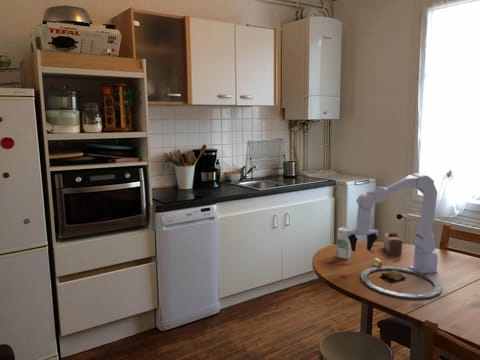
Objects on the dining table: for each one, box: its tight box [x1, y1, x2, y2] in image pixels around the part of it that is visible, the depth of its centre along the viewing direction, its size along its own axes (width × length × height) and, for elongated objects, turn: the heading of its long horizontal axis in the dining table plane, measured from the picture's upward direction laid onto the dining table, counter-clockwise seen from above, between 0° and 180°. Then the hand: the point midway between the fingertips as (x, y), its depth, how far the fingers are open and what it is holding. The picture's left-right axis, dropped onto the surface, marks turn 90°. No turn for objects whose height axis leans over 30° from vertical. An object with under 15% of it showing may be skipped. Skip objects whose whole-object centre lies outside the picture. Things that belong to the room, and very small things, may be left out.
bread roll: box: [378, 270, 408, 284], centre depth 169 cm, size 11×8×4 cm
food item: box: [383, 232, 403, 257], centre depth 203 cm, size 14×8×10 cm, turn 174°
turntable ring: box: [360, 257, 443, 300], centre depth 167 cm, size 31×36×3 cm
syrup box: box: [336, 226, 353, 260], centre depth 193 cm, size 6×6×14 cm
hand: (360, 250), depth 178 cm, fingers open, 7 cm apart
